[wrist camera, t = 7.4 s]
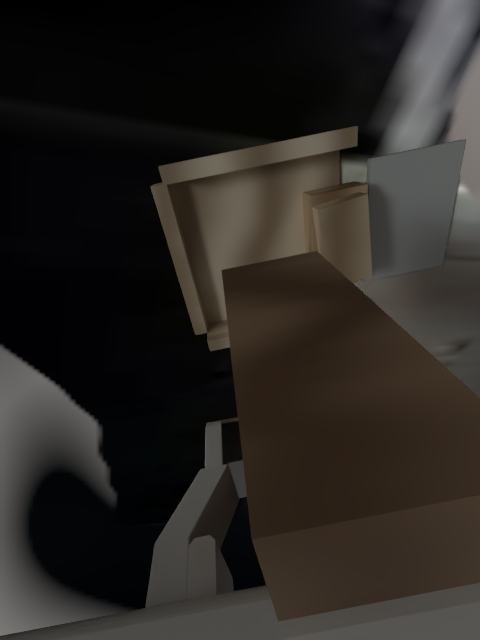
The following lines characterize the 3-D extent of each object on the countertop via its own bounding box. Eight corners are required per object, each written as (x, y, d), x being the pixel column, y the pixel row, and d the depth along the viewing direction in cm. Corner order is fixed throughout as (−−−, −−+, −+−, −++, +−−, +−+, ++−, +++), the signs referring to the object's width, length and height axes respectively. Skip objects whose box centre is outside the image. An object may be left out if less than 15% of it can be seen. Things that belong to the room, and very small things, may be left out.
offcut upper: (358, 191, 23) (367, 194, 22) (364, 270, 26) (372, 276, 25) (311, 206, 23) (318, 210, 22) (323, 282, 27) (329, 289, 25)
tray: (337, 129, 23) (357, 126, 20) (338, 305, 31) (352, 322, 28) (149, 167, 23) (141, 169, 20) (198, 334, 31) (198, 353, 28)
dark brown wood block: (316, 251, 11) (568, 477, 3) (323, 419, 15) (433, 673, 8) (221, 269, 11) (250, 539, 3) (256, 432, 15) (303, 698, 8)
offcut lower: (353, 181, 25) (368, 184, 23) (351, 269, 29) (363, 278, 27) (302, 192, 25) (311, 195, 23) (307, 278, 29) (315, 288, 27)
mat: (461, 139, 24) (466, 139, 24) (439, 264, 30) (442, 265, 29) (367, 158, 24) (370, 158, 24) (362, 279, 30) (364, 281, 29)
